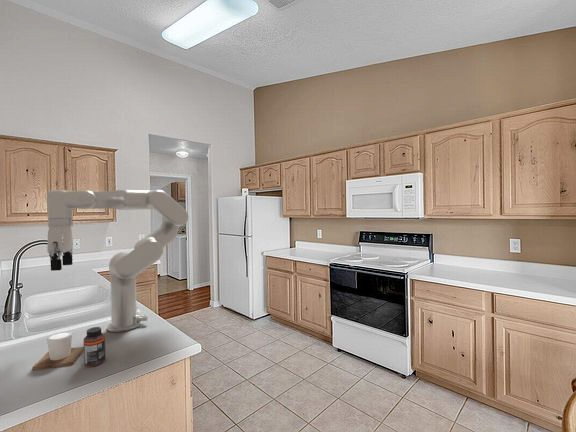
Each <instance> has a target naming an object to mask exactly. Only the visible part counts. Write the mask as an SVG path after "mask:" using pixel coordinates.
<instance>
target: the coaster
mask: <svg viewBox="0 0 576 432" xmlns="http://www.w3.org/2000/svg"><path fill="white" fill-rule="evenodd" d="M83 354H84V346H77V347H76V346H75V347H71V354H70V355H69V356H68V357H66V358H63V359H60V360H51V359H50V356H49V351H47V352H46V354H44V355H43V356H42V357H41V358H40V359H39V360H38V361H37V362H35V364H34V365H33V366H32V371H37V370H42V369H52V368H59V367H66V366H73V365H75V363H76V362H77V360H78V359H79V358H80V356H81V355H83Z"/></svg>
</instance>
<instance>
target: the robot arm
mask: <svg viewBox="0 0 576 432" xmlns="http://www.w3.org/2000/svg"><path fill="white" fill-rule="evenodd" d="M46 203H47V204H46V205H47V206H46V207H47V227H48V229H47V230H48V231H47V247H46V248H47V250H46V251H47V254H49V260H50V271H61V270H62V269H63V267H62V266H72V265H73V232H72V231H73V229H72V227H73V226H74V221H73V219H74V218H73V209H79V210H90V209H91V210H96V209H97V210H98V209H101V210H102V209H103V210H109V209H110V210H119V211H123V210H125V211H127V210H129V211H130V210H133V211H134V210H135V211H136V210H156V211H157V212H158V213H159V214H160V215H161V217H162V218H161V220H162V221H161V224H160V226H159V227H158V228H156V230H154V231H153V232H151V233H149V234H148V235H146V236H145V237H143V238H141V239H140V240H138V241H137V242H136V243H135V245H134V247H133V250H132V251H130V252H129V253H128V252H123V251H122V252H118V253H116V254H115V255H113V256H112V257H111V259H110V261H109V264H108V269H109V272H108V273H109V281H110V313H111V315H110V317H111V320H110V321H111V322H110V323H109V324H108V325H107V328H106V329H107V331H109V332H114V333H122V332H127V331H131V330H133V329H134V330H135V329H136V328H137V327H139V326H140V325H141V324H142V322H147V321H148V318H149V317H148V315H146V314H142V315H140V314H139V312H138V311H137V278H136V277H137V276H138V275H140V274H141V273H143V272H144V271H146V270H147V269H148V268H150V267H151V266H152V265H154V264H155V263H156V262H158V261H159V260H160V259H161V257H162V255H163V254H164V253H163V252H164V249H165V247H167V246H168V245H169V244H170V243H172V242H173V241H174V240H175V239H176V237H177V236H178V234H179V230H180V227H182V226H184V225H186V224H187V223H188V221H189V214H188V211H187V210H186V209H185V208H184V207H183V206H182V205H181V204H180V203H178V202H177V200H175V199H174V198H173V197H172V196H171V195H169V194H168V193H167V192H166V191H164V190H162V189H155V190H154V189H153V190H151V189H150V190H149V189H147V190H145V189H141V190H140V189H136V190H135V189H117V190H106V191H105V190H104V191H102V190H101V191H99V190H95V191H94V190H93V191H92V190H87V189H82V190H81V189H80V190H67V189H65V190H63V189H62V190H61V189H51V190H48V191H47V192H46ZM62 254H63V255H62ZM61 256H62V259H61Z"/></svg>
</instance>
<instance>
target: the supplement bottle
mask: <svg viewBox="0 0 576 432" xmlns="http://www.w3.org/2000/svg"><path fill="white" fill-rule="evenodd" d="M105 336H106V335H105V333H103V332H102V328H101V326H94V327H90V328H88V329H86V336H85V337H84V338H83V347H84V352H83V363H84V366H86V367H87V368H88V367H89V368H91V367H96V366H99V365H101V364H102V363H105V361H106V337H105Z"/></svg>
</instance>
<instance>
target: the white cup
mask: <svg viewBox="0 0 576 432" xmlns="http://www.w3.org/2000/svg"><path fill="white" fill-rule="evenodd" d="M72 340H73V332H71V331H62V332H61V331H60V332H57V333H54V334H51V335H49V336H48V337H47V338H46V343H47V349H48V352H49V356H50V359H51V360H60V359H63V358H66V357H68V356H69V355H70V354H71V348H72V343H73V342H72Z"/></svg>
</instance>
